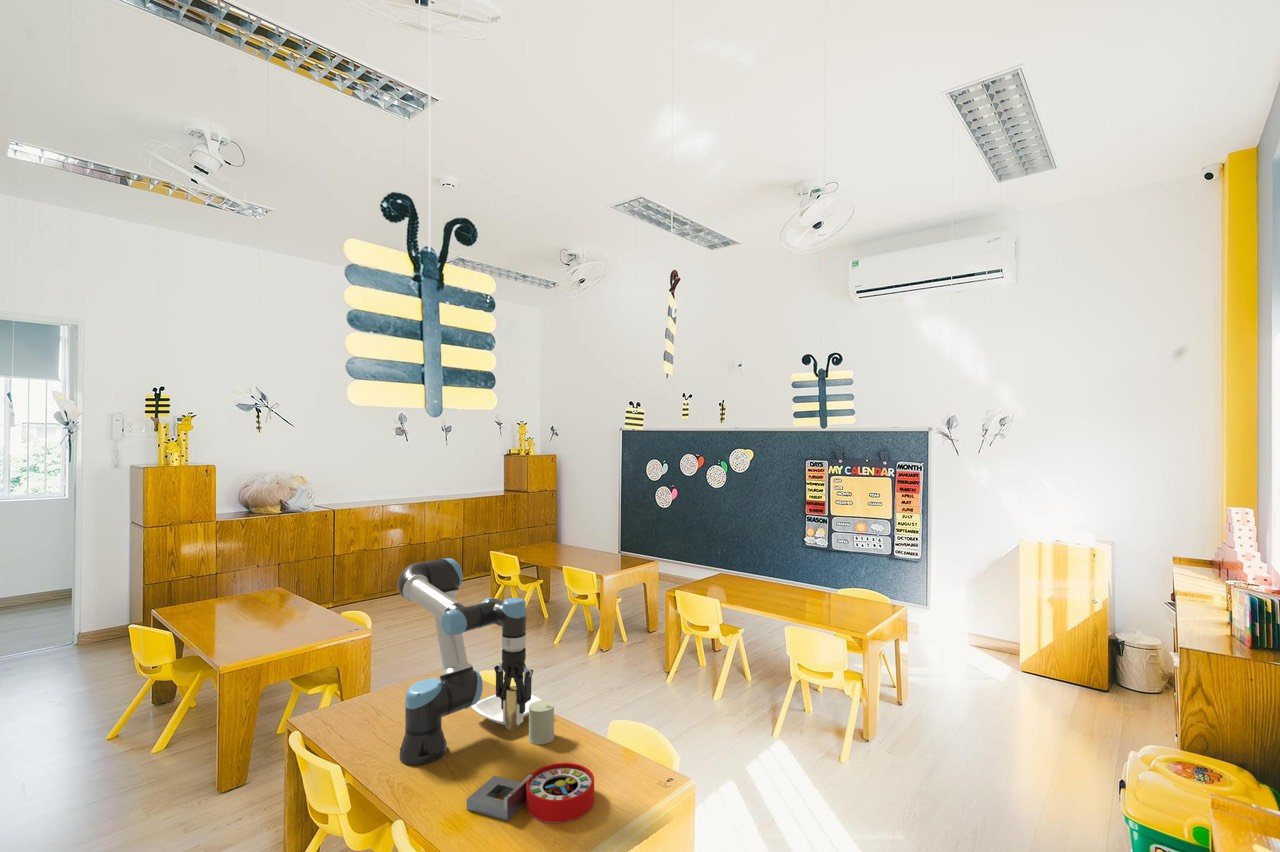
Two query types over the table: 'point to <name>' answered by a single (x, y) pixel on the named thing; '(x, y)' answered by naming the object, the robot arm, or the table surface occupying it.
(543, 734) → the can
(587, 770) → the toy clock
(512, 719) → the bushing
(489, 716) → the bowl
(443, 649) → the robot arm
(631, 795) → the table surface
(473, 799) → the jig
